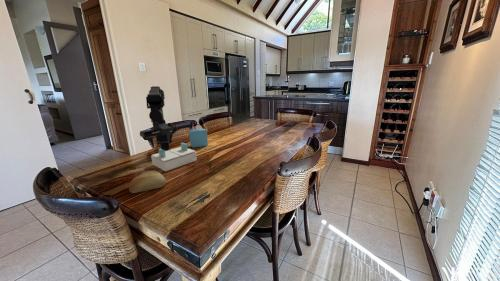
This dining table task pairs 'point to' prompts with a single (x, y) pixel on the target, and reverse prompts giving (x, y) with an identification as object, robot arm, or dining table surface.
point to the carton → (174, 161)
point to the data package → (198, 138)
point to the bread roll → (147, 181)
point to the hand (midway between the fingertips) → (161, 146)
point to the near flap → (165, 155)
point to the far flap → (182, 150)
